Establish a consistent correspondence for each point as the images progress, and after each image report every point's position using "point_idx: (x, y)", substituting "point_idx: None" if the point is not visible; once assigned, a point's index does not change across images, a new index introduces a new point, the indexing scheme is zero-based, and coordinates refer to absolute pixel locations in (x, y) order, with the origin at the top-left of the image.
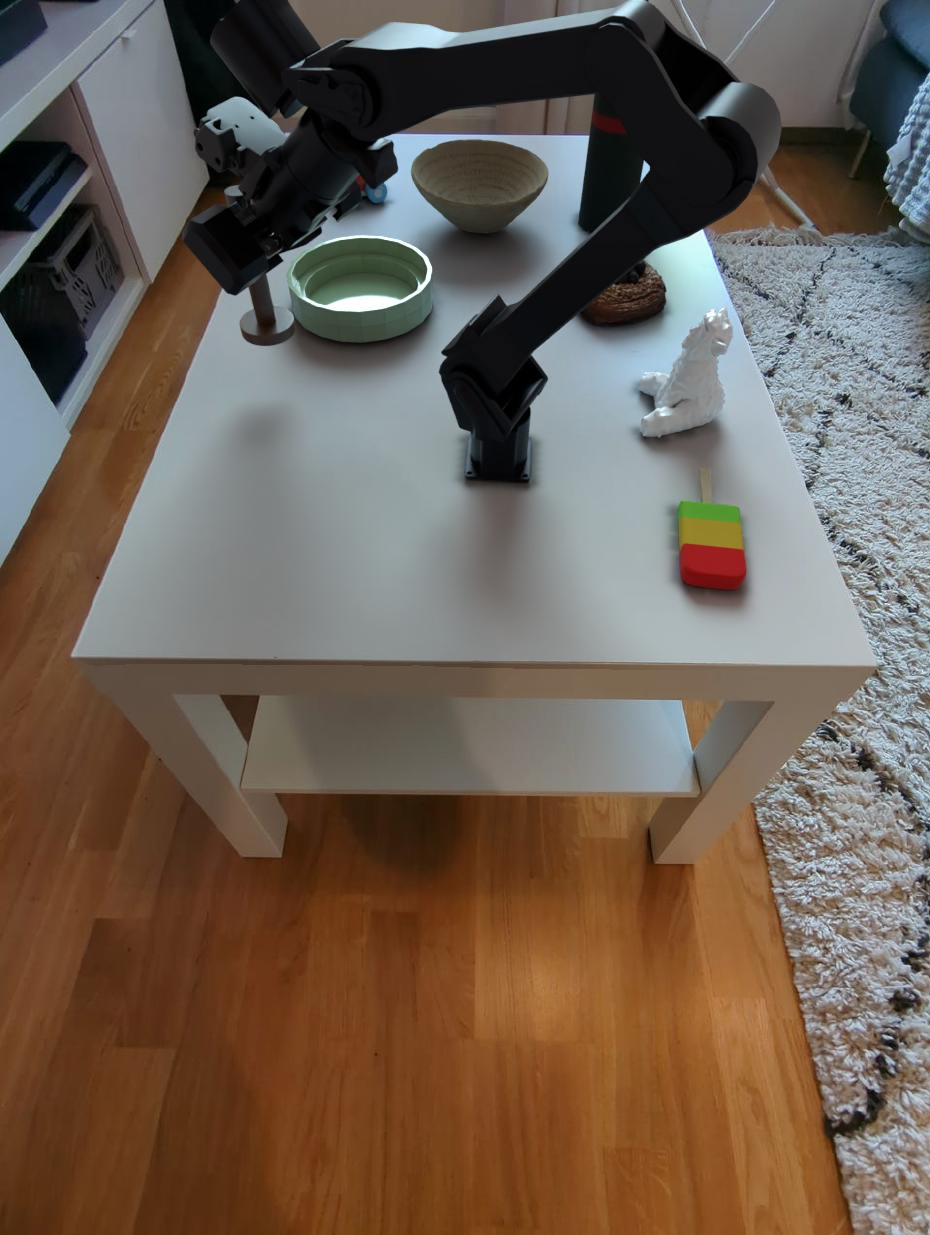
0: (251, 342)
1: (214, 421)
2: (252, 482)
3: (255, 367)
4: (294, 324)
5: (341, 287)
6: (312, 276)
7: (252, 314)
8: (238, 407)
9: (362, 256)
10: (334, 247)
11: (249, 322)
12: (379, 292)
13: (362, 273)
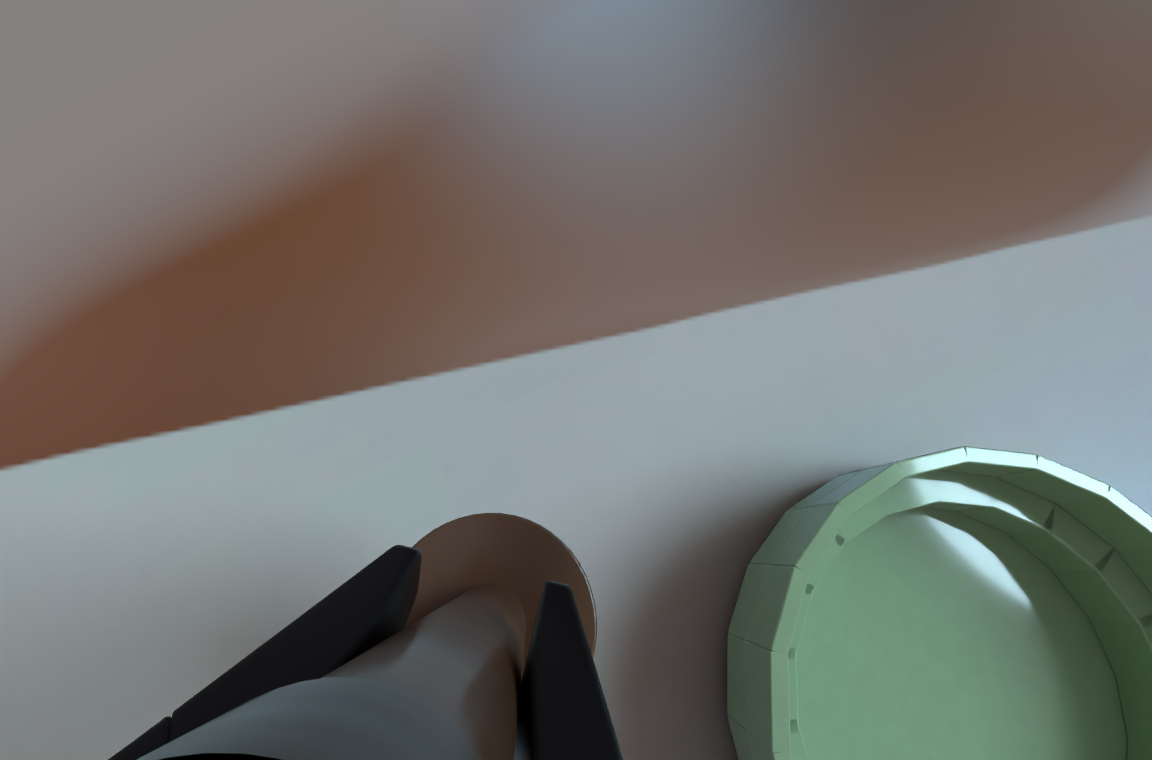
0: None
1: (294, 498)
2: (34, 739)
3: (546, 496)
4: None
5: (983, 583)
6: (964, 504)
7: (511, 547)
8: (365, 534)
9: (1148, 624)
10: (1128, 533)
11: (455, 563)
12: (1022, 725)
13: (1083, 617)
